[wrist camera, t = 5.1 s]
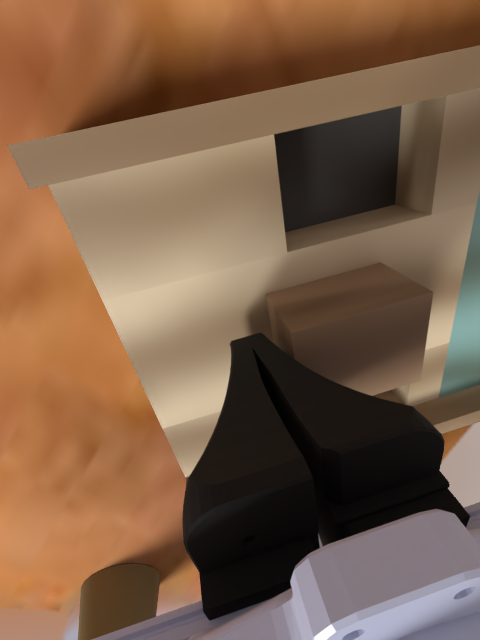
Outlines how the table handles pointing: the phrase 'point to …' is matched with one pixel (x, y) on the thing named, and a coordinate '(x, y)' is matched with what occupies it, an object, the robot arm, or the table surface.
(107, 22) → the table surface
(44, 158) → the board
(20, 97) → the table surface
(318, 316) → the walnut block
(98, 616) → the cork
